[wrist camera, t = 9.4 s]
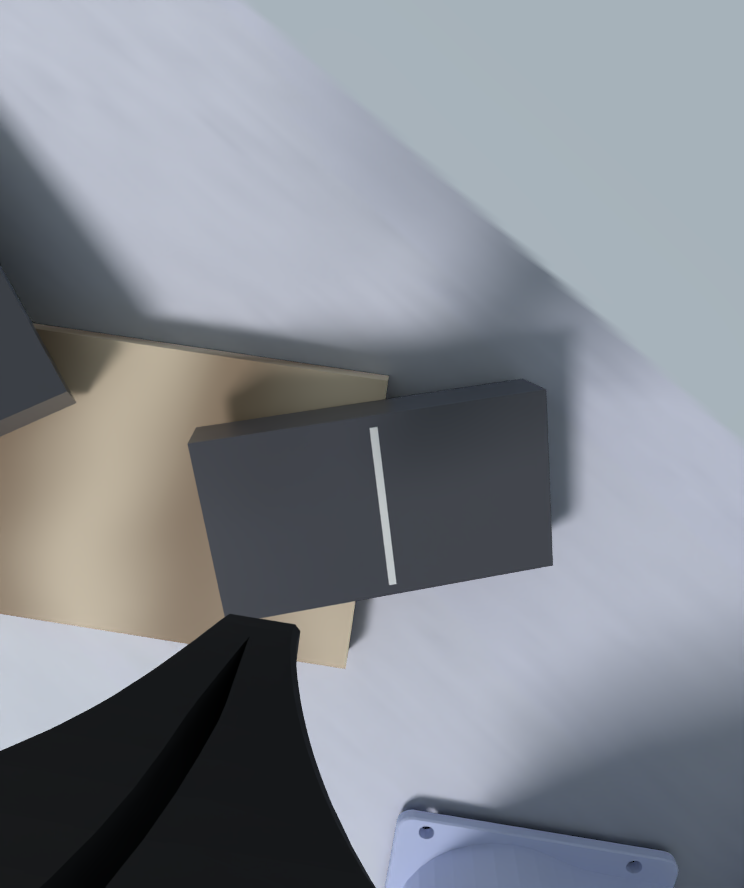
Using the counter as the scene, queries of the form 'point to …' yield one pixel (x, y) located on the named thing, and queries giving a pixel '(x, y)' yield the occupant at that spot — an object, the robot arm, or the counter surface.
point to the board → (144, 486)
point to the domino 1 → (25, 368)
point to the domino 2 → (375, 497)
